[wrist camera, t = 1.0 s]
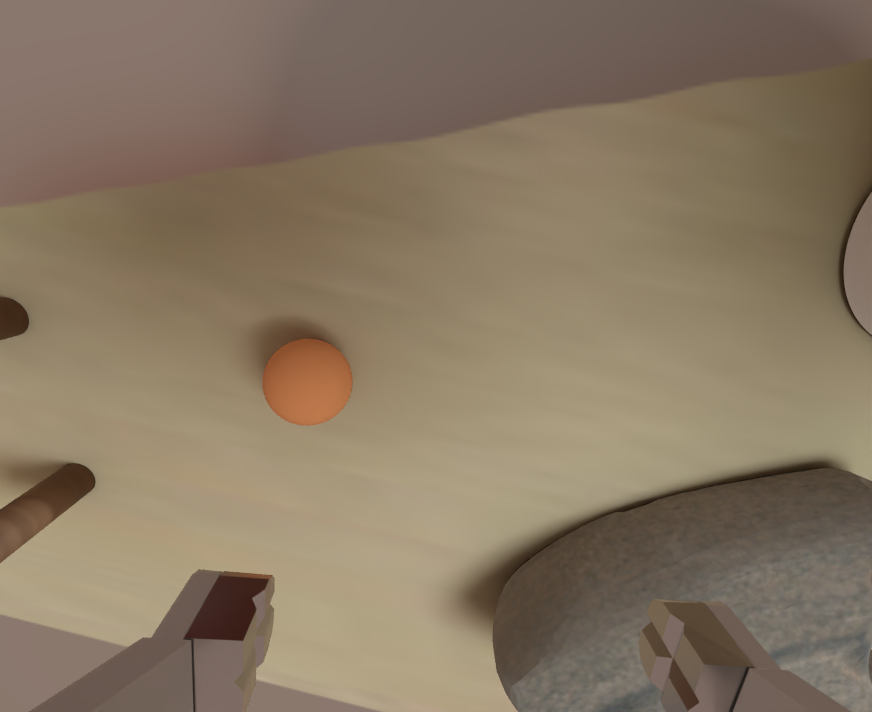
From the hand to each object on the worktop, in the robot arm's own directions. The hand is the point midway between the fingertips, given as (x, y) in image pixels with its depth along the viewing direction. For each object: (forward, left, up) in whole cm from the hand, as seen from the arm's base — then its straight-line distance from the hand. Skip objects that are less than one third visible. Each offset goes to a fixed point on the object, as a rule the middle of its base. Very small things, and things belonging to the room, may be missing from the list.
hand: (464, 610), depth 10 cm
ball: (+9, +1, -19) cm, 21 cm away
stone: (-15, +22, -23) cm, 35 cm away
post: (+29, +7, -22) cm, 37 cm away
